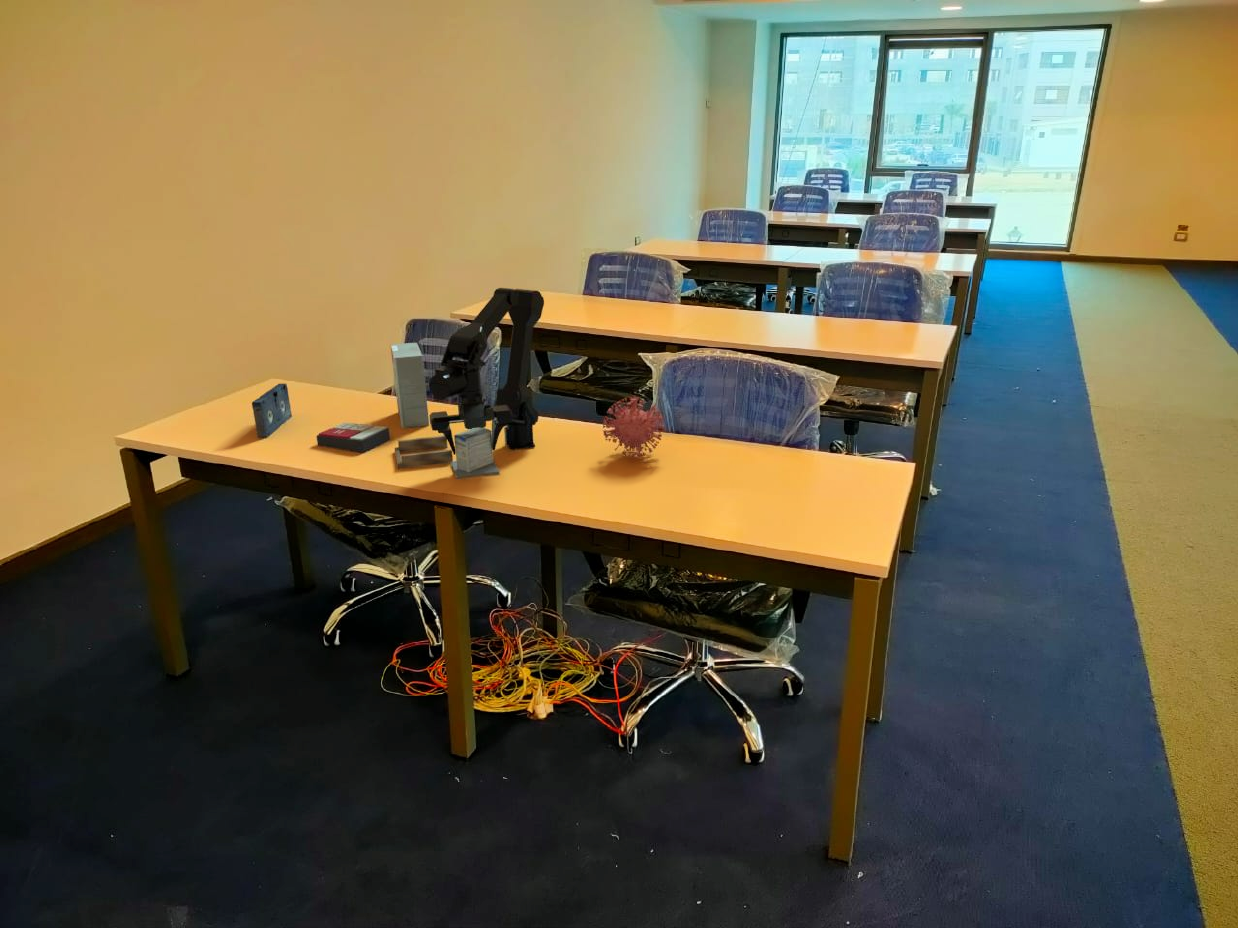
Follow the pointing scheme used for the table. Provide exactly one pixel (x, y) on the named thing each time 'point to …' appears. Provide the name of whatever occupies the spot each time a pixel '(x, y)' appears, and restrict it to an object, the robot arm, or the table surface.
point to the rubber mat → (475, 471)
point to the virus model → (633, 427)
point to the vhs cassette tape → (271, 410)
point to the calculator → (354, 437)
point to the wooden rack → (425, 457)
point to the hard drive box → (410, 385)
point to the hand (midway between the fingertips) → (474, 452)
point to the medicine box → (473, 449)
